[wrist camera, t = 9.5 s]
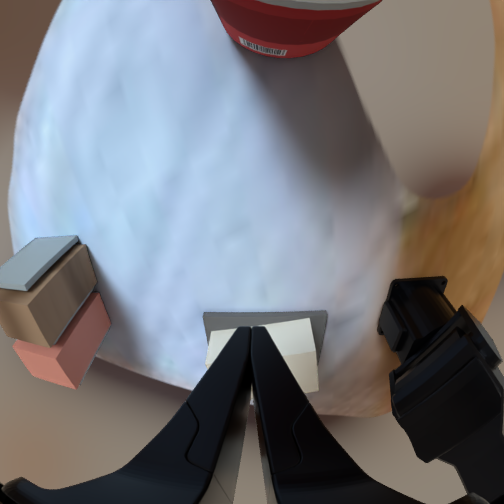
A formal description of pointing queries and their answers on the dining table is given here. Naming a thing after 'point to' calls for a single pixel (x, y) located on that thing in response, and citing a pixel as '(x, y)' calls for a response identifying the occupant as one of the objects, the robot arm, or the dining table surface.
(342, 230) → the dining table surface
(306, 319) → the cream rectangular block
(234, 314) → the rubber mat
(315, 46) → the canned food
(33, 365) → the salmon pink block
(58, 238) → the socket block
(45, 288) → the walnut plug
